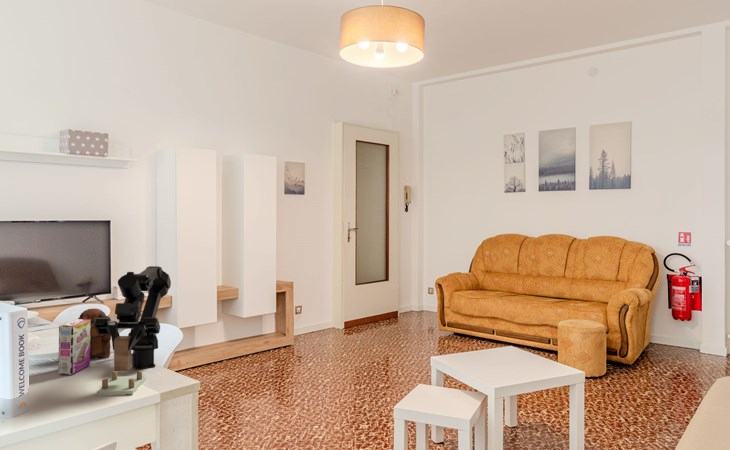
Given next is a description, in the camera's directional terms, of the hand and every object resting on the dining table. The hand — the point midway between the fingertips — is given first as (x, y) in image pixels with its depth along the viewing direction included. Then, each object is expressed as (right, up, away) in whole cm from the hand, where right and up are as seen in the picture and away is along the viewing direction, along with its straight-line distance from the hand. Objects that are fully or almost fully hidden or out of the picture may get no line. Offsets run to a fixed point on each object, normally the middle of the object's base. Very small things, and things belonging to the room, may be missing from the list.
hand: (121, 349), depth 162 cm
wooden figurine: (-25, -11, +33) cm, 43 cm away
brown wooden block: (0, -7, +2) cm, 7 cm away
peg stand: (0, -12, +2) cm, 12 cm away
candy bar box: (-24, -11, +18) cm, 32 cm away
